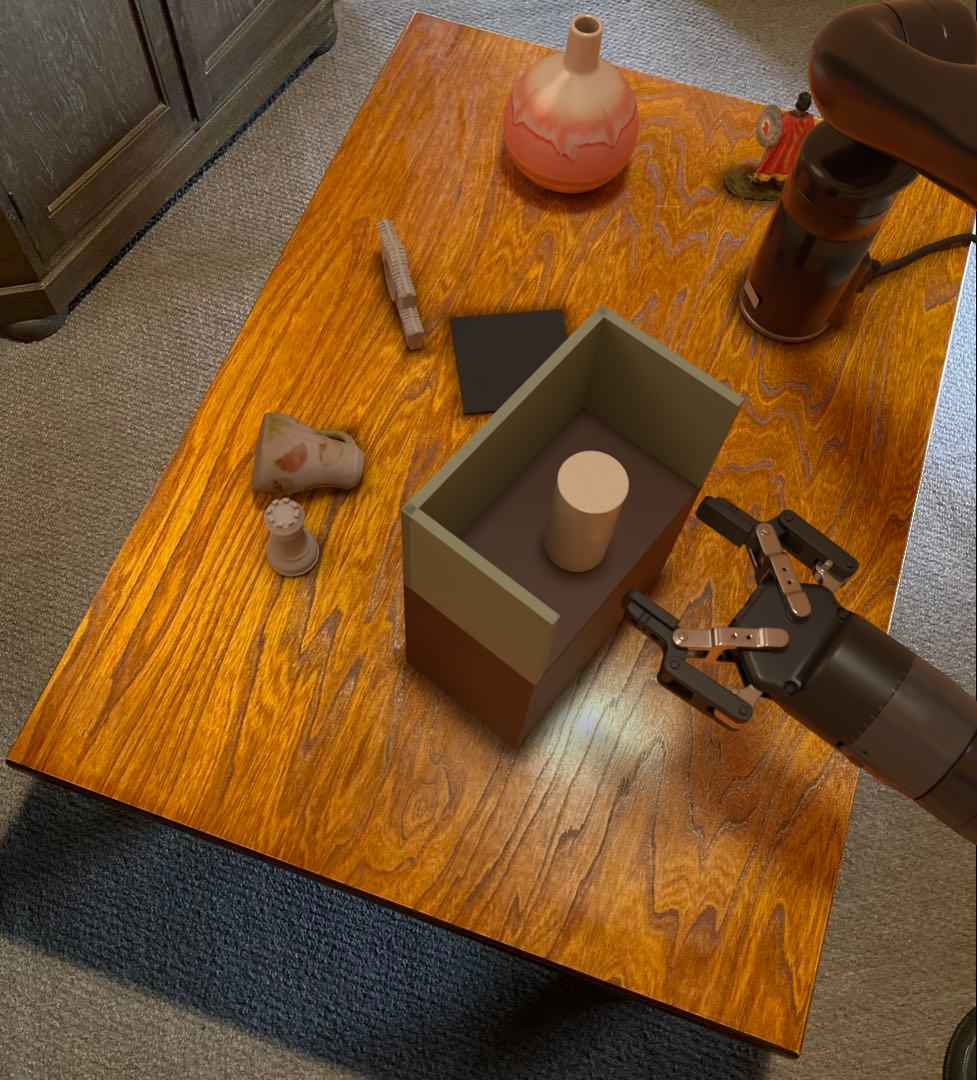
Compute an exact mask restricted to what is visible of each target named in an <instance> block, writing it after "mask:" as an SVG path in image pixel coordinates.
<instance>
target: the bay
mask: <svg viewBox="0 0 977 1080" xmlns="http://www.w3.org/2000/svg"><path fill="white" fill-rule="evenodd" d="M745 399H746V398H744V397H743V396H742V395H740V394H739V393H737V392H736V391H734V390H732V389H731V388H729V387H728V386H727V385H725V384H723V383H722V382H721V381H719V380H717V379H716V378H714V377H713V376H711V375H710V374H708V373H707V372H705V371H704V370H703V369H701V368H699V367H698V366H696V365H695V364H694V363H692V362H690V361H689V360H687V359H686V358H684V357H683V356H681V355H679V354H678V353H677V352H675V351H674V350H673V349H671V348H669V347H668V346H666V345H664V343H661V342H660V341H659V340H657V339H655V338H654V337H652V336H651V335H649V333H647V332H645V331H643V330H642V329H640V328H639V327H638V326H636V325H635V324H633V323H632V322H630V321H628V320H627V319H625V318H624V317H623V316H620V315H619V314H618V313H617V312H615V311H613V310H612V309H610V308H608V307H607V306H606V305H604V304H603V303H601V304H600V305H599V306H597V308H596V309H595V310H594V311H593V312H592V313H591V314H590V315H589V316H588V317H587V318H586V319H585V320H584V321H583V322H582V323H581V325H579V326H578V327H577V329H576V330H575V331H573V333H572V334H571V335H569V337H568V339H567V340H566V341H565V342H564V343H563V344H562V345H561V346H560V347H559V348H558V349H557V350H556V351H555V352H554V353H553V354H552V355H551V356H550V357H549V358H548V359H547V360H546V361H545V362H544V363H543V364H542V365H541V366H540V367H539V368H538V369H537V370H536V371H535V372H534V373H533V375H532V376H531V377H530V378H529V379H528V380H527V381H526V382H525V383H524V384H523V385H522V386H521V387H520V388H519V389H518V390H517V391H516V392H515V393H514V394H513V395H512V396H511V397H510V398H509V399H508V400H507V401H506V402H505V403H504V404H503V405H502V406H501V407H500V408H499V409H498V410H497V411H496V412H495V413H492V415H491V416H490V417H489V418H488V419H487V420H486V421H485V422H484V423H483V424H482V426H480V427H479V428H478V430H476V432H474V433H473V434H472V436H471V437H470V438H468V440H466V441H465V443H464V444H463V445H462V446H460V448H459V449H458V450H457V451H456V452H455V453H454V454H453V455H451V457H450V458H449V459H448V460H447V461H446V462H445V463H444V464H443V465H442V466H441V467H440V468H439V469H438V470H437V471H436V472H435V474H434V475H432V476H431V477H430V478H429V479H428V481H426V482H425V484H423V486H422V487H421V488H420V489H419V490H418V491H416V493H414V495H412V497H411V498H410V499H409V500H408V501H406V503H405V504H404V505H403V506H402V507H401V508H400V529H401V530H400V531H401V532H400V533H401V558H402V560H401V561H402V583H403V609H404V612H403V613H404V615H403V616H404V638H405V639H404V641H405V662H406V663H407V664H408V665H410V666H411V667H412V668H413V669H415V670H416V671H417V672H419V674H421V675H422V676H423V677H425V678H426V679H427V680H428V681H429V682H430V683H432V684H433V685H434V686H436V687H437V688H438V689H439V690H440V691H442V692H443V693H444V694H446V695H447V696H448V697H450V698H451V699H452V700H453V701H454V702H455V703H457V704H458V705H459V706H461V707H462V708H463V709H464V710H466V711H467V712H468V713H469V714H471V715H472V716H473V717H474V718H476V719H477V720H478V721H479V722H481V723H482V724H483V725H484V726H486V727H487V728H488V729H489V730H491V732H493V733H494V734H496V735H497V736H498V737H499V738H500V739H501V740H503V741H504V742H505V743H506V744H508V745H509V746H510V747H512V748H513V749H514V750H517V749H518V748H519V746H520V745H521V744H522V743H523V742H524V740H526V739H527V737H528V736H529V734H530V733H531V732H532V731H533V730H534V728H535V727H536V726H537V724H538V723H539V722H540V721H541V720H542V719H543V717H544V716H545V714H546V713H547V712H548V711H549V710H550V709H551V707H552V706H553V705H554V704H555V702H556V701H557V700H559V697H560V696H561V695H562V694H563V693H564V692H565V690H566V689H567V688H568V687H569V685H570V684H571V683H572V682H573V680H574V679H575V678H576V677H577V676H578V674H579V673H580V672H581V671H582V670H583V668H584V667H585V666H586V665H587V663H588V662H589V661H590V660H591V658H592V657H593V656H594V655H595V653H597V651H598V650H599V649H600V647H601V646H602V645H603V644H604V642H605V641H606V640H607V639H608V637H610V635H611V634H612V633H613V631H614V630H615V629H616V628H617V627H618V626H619V624H620V623H621V622H622V621H623V619H625V618H624V616H623V614H624V612H625V610H623V609H622V607H621V606H620V602H621V600H622V598H623V596H624V594H625V593H626V592H627V591H628V590H629V588H630V587H633V588H636V589H637V590H639V591H640V592H641V593H643V594H645V592H646V591H647V590H648V589H649V587H651V585H652V584H653V583H654V581H655V580H656V579H657V578H658V577H659V575H660V574H661V573H662V571H663V569H664V567H665V565H666V564H667V561H668V559H669V558H670V555H671V553H672V551H673V548H674V547H675V544H676V542H677V541H678V538H679V536H680V534H681V532H682V530H683V527H684V526H685V524H686V522H687V519H688V518H689V515H690V514H691V512H692V510H693V507H694V505H695V503H696V501H697V499H698V497H699V495H700V492H701V491H702V488H703V487H704V484H705V482H706V481H707V480H708V479H707V478H708V477H709V474H710V472H711V470H712V469H713V466H714V464H715V462H716V460H717V458H718V455H719V453H720V452H721V450H722V448H723V446H724V443H725V441H726V439H727V438H728V436H729V433H730V431H731V429H732V427H733V425H734V422H735V421H736V419H737V417H738V415H739V413H740V411H741V408H742V407H743V404H744V403H745ZM584 451H597V452H602V453H605V454H607V455H610V456H611V457H613V458H614V459H616V460H617V461H618V462H619V463H620V464H621V465H622V466H623V468H624V469H625V471H626V473H627V476H628V480H629V490H628V494H627V496H626V499H625V502H624V505H623V508H622V510H621V513H620V516H619V519H618V522H617V524H616V527H615V530H614V533H613V535H612V538H611V541H610V544H609V547H608V549H607V552H606V555H605V557H604V559H603V560H602V561H601V562H600V563H599V564H598V565H597V566H596V567H594V568H592V569H590V570H587V571H583V572H571V571H567V570H564V569H562V568H560V567H558V566H557V565H555V564H554V563H553V562H552V561H551V560H550V559H549V557H548V556H547V554H546V552H545V549H544V545H543V537H544V533H545V528H546V524H547V520H548V515H549V511H550V507H551V502H552V498H553V494H554V489H555V485H556V481H557V476H558V472H559V469H560V468H561V466H562V464H563V463H564V462H565V461H566V460H567V459H568V458H569V457H571V456H573V455H574V454H577V453H580V452H584Z"/></svg>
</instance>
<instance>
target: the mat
mask: <svg viewBox="0 0 977 1080" xmlns="http://www.w3.org/2000/svg"><path fill="white" fill-rule="evenodd" d="M449 323H450V329H451V335H452V336H451V337H452V342H453V348H454V349H453V350H454V355H455V361H456V362H455V363H456V368H457V373H458V374H457V375H458V382H459V387H460V394H461V400H462V401H461V402H462V406H463V413H464V416H474V415H482V414H494V413H495V412H496V411H497V410H498V409H499V408H500V407H501V406H502V405H503V404H504V403H505V402H506V401H507V400H508V399H509V398H510V397H511V396H512V395H513V394H514V393H515V392H516V391H517V390H518V389H519V388H520V387H521V386H522V385H523V384H524V383H525V382H526V381H527V380H528V379H529V378H530V377H531V376H532V375H533V373H534V372H535V371H536V370H537V369H538V368H539V367H540V366H541V365H542V364H543V363H544V362H545V361H546V360H547V359H548V358H549V357H550V356H551V355H552V354H553V353H554V352H555V351H556V350H557V349H558V348H559V347H560V346H561V345H562V344H563V343H564V342H565V341H566V340H567V339H568V338H569V337H568V334H567V328H566V323H565V318H564V314H563V309H562V308H555V309H541V310H529V311H517V312H516V311H515V312H504V313H490V314H478V315H466V316H456V317H455V316H451V317H450V318H449Z"/></svg>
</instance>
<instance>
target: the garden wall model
mask: <svg viewBox="0 0 977 1080" xmlns="http://www.w3.org/2000/svg"><path fill="white" fill-rule="evenodd" d="M375 224H376V229H377V233H378V236H379V238H380V242H381V259H382V262H383V269H384V275H385V280H386V285H387V290H388V292H389V295H390V298H391V300H392V302H395V304H396V307H397V312H398V314H399V317H400V320H401V328H402V331H403V334H404V338H405V341H406V345H407V347H408V348H409V350H410V351H411V350H417V349H422V348H423V345H424V334H425V329H424V327H423V324H422V321H421V318H420V314H419V311H418V308H417V305H415V298H416V297H417V292H416V289H415V287H414V284H413V281H412V277H411V273H410V269H409V265H408V264H409V263H410V262H409V258H408V254H407V253H406V252H407V250H405V247H406V246H404V245H403V242H401V240H400V238H399V236H398V234H397V230H396V227H395V224H394V220H389V219H388V218H384V219H383V220H382V221H380V222H378V223H375Z"/></svg>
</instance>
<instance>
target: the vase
mask: <svg viewBox="0 0 977 1080" xmlns="http://www.w3.org/2000/svg"><path fill="white" fill-rule="evenodd" d="M603 35H604V23H603V22H602V20H601V19H600V18H599V17H598V16H596V15H593V14H590V13H581V14H578V15H576V16H574V17H573V18H572V19H571V21H570V24H569V28H568V34H567V40H566V47H565V50H563V51H562V50H561V51H558V52H554V53H551V54H549V55H547V56H545V57H543V58H541V59H539V60H538V61H536V62H534V63H533V64H532V65H531V66H529V67H528V68H527V69H526V70H525V71H524V72H523V73H522V74H521V75H520V77H519V78H518V80H517V81H516V83H515V84H514V86H513V88H512V90H511V92H510V94H509V96H508V99H507V101H506V104H505V107H504V114H503V121H502V123H503V126H502V129H503V139H504V143H505V147H506V150H507V152H508V155H509V157H510V158H511V159H510V160H512V163H514V165H515V166H516V168H517V169H518V170H519V171H520V173H521V174H522V175H524V177H525V178H527V179H528V180H530V181H531V182H533V184H535V185H537V186H538V187H540V188H544V189H546V190H549V191H552V192H557V193H562V194H579V193H580V194H581V193H586V192H589V191H593V190H595V189H597V188H601V187H602V186H604V185H606V184H608V183H609V182H610V181H611V180H614V178H615V177H617V176H618V175H620V173H621V172H622V170H623V169H624V168H625V167H626V165H627V164H628V162H629V161H630V159H631V157H632V156H633V153H634V151H635V148H636V144H637V142H638V137H639V127H640V116H639V108H638V102H637V99H636V96H635V93H634V91H633V89H632V86H631V85H630V82H628V80H627V79H626V77H625V75H623V73H622V72H621V71H620V70H619V68H617V66H615V65H614V64H613V63H612V62H610V61H609V60H607V59H606V58H604V57H603V56H600V53H601V48H602V42H603V41H602V40H603Z"/></svg>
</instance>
